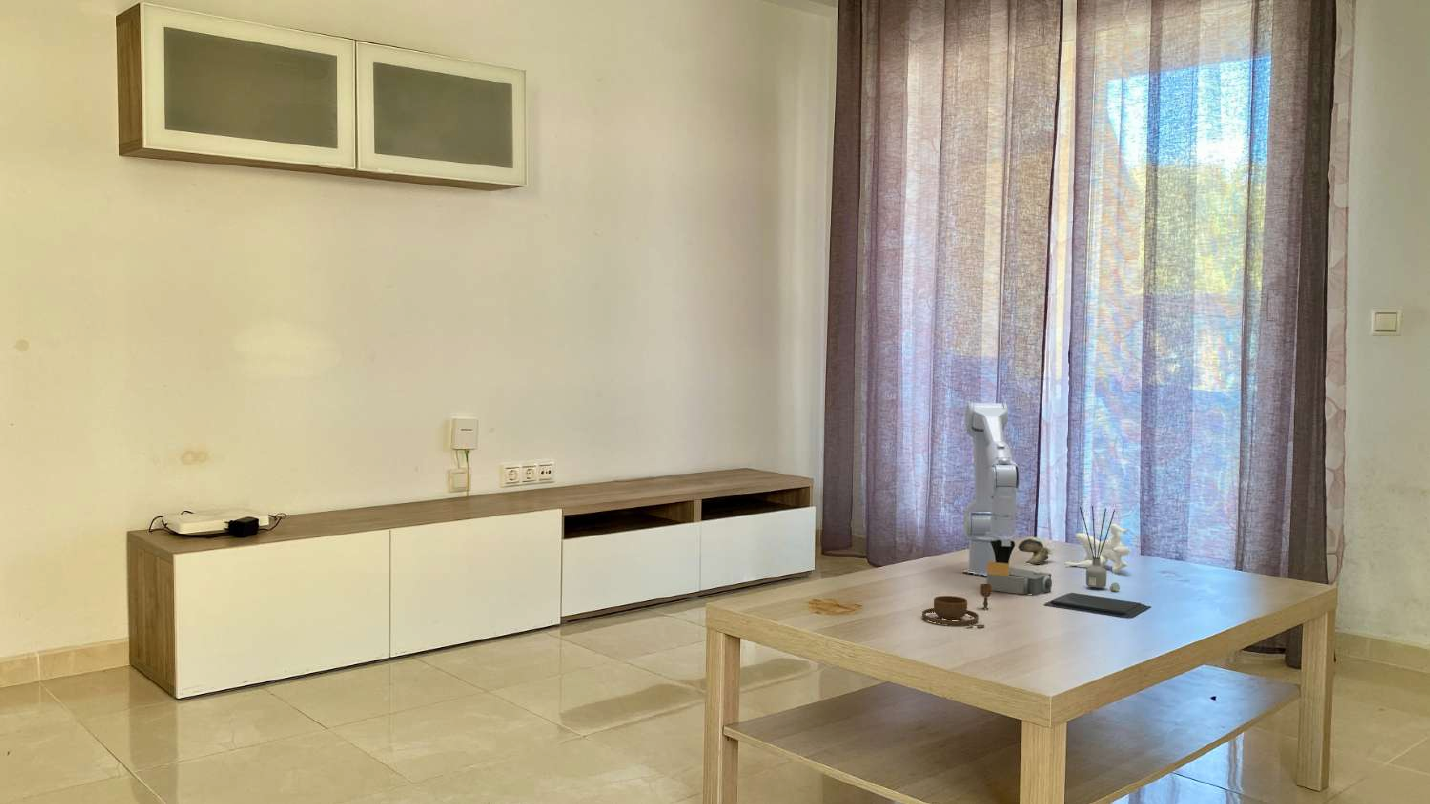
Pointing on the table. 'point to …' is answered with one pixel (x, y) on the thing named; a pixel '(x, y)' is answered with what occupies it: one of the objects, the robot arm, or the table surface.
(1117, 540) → the person figurine
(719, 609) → the table surface
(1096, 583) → the reed diffuser
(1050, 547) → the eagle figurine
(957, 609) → the place setting
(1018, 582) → the side hatch
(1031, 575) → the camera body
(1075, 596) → the wallet
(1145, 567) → the table surface
